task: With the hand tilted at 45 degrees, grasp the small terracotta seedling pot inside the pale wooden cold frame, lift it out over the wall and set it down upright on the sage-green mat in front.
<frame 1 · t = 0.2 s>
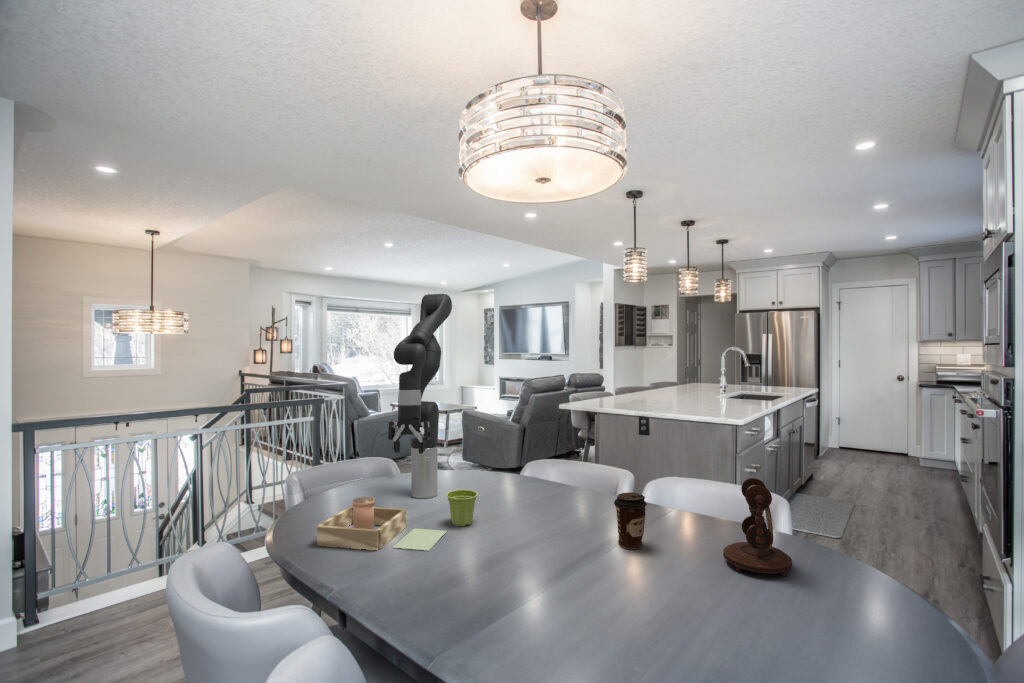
hand: (409, 453, 167), 18 cm above the table, tool pointing down, fingers open, 8 cm apart
green mat: (420, 539, 138), on the table
brown wooden stand: (757, 566, 121), on the table
seedling pot: (363, 517, 142), in the cold frame
plant pot: (462, 523, 152), on the table
coffee cup: (631, 546, 134), on the table
cold frame: (363, 535, 142), on the table
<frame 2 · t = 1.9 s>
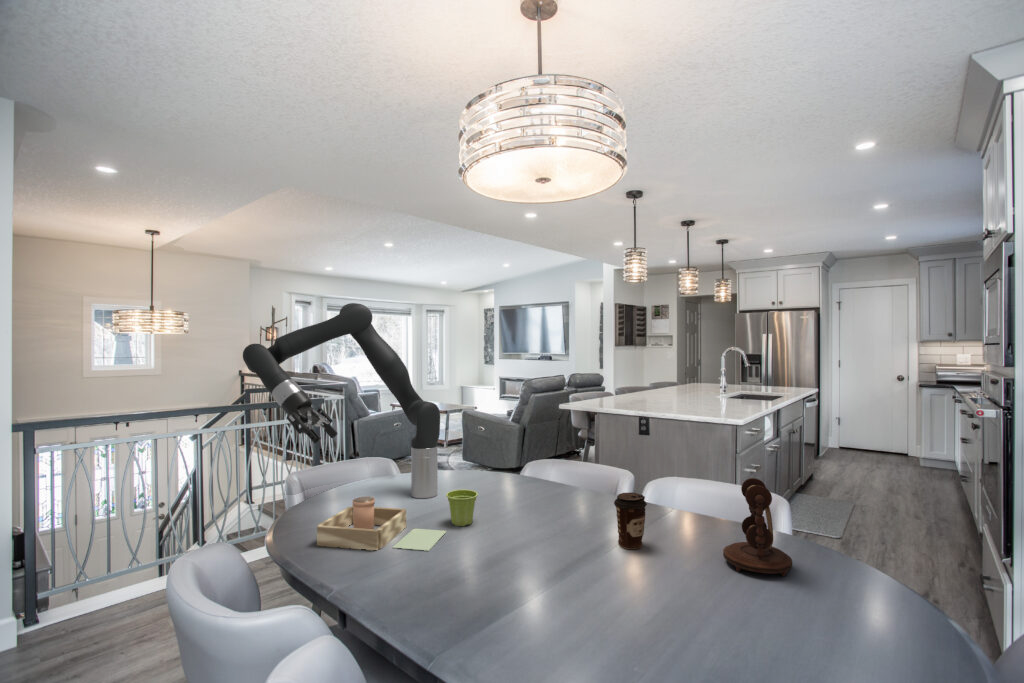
hand: (326, 438, 147), 26 cm above the table, tool tilted 45°, fingers open, 8 cm apart
nothing on the table moved.
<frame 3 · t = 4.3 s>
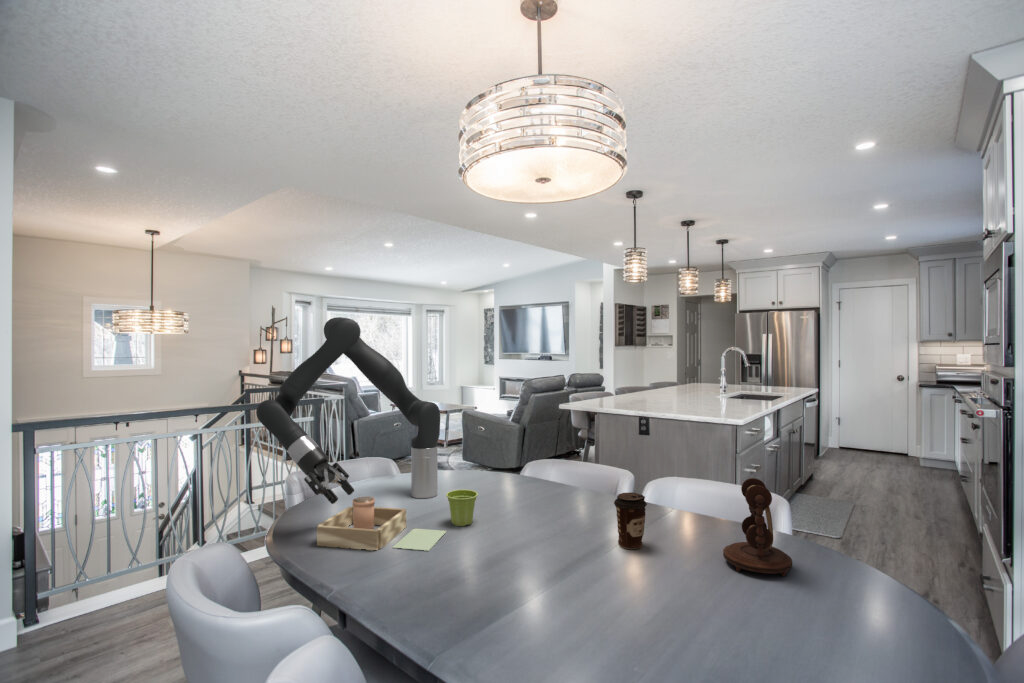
hand: (344, 497, 143), 10 cm above the table, tool tilted 45°, fingers open, 8 cm apart
nothing on the table moved.
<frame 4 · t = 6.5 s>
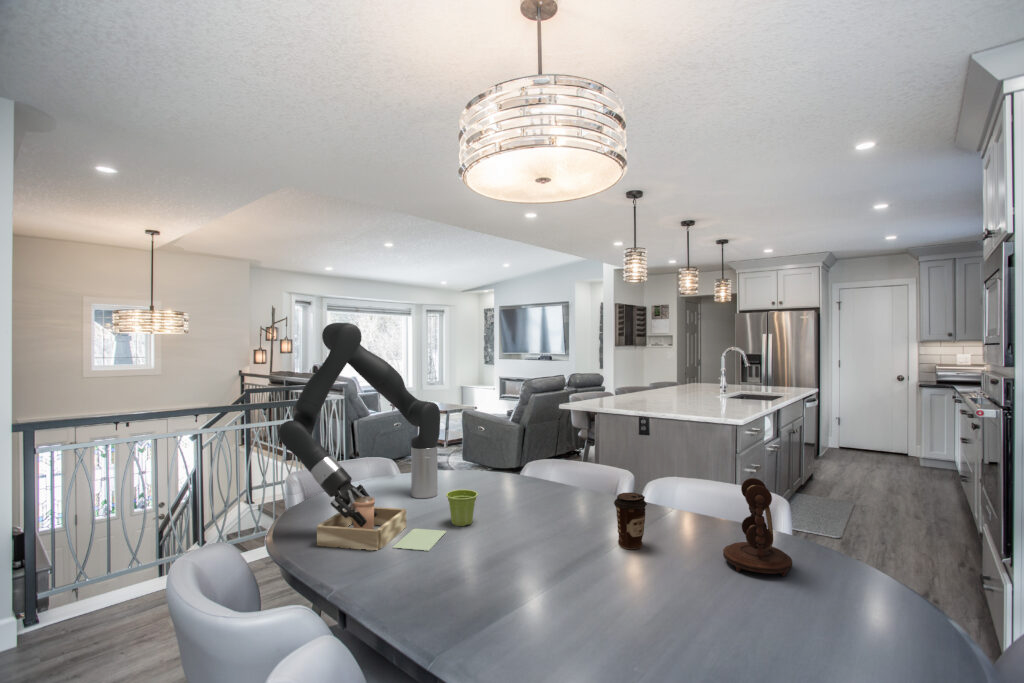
hand: (369, 520, 142), 4 cm above the table, tool tilted 45°, fingers closed on seedling pot, 5 cm apart
seedling pot: (363, 517, 142), in the cold frame, touching gripper
everything else where it was.
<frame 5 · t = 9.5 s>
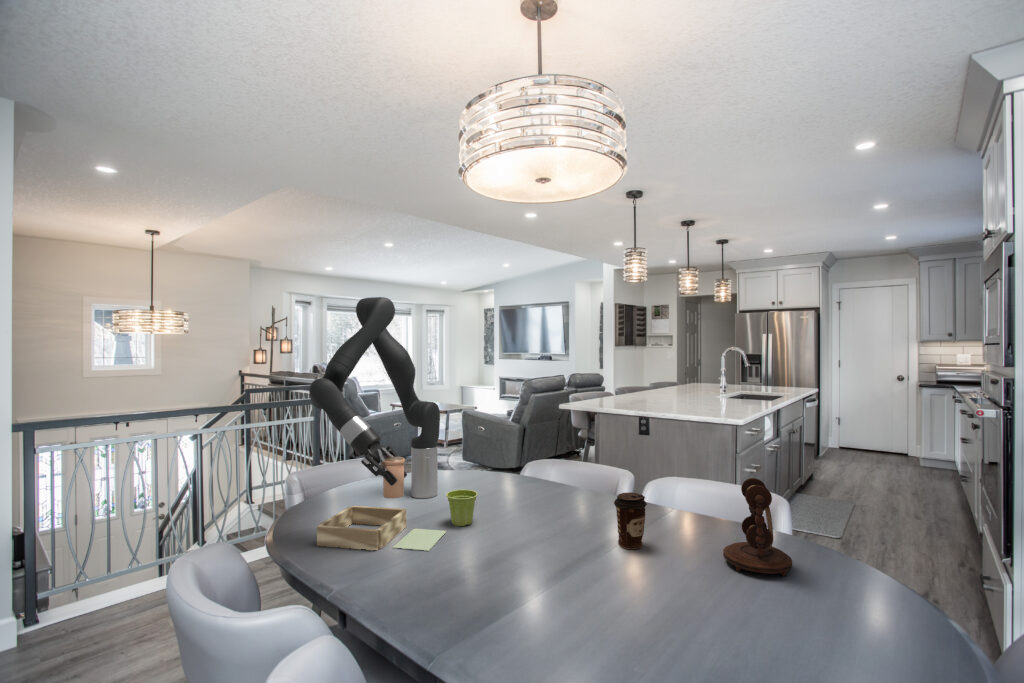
hand: (399, 480, 140), 16 cm above the table, tool tilted 45°, fingers closed on seedling pot, 5 cm apart
seedling pot: (393, 477, 140), point 17 cm above the table, touching gripper
everything else where it was.
when the fingers open (6 cm above the table, at t = 12.8 s): seedling pot drops 1 cm, resting on green mat.
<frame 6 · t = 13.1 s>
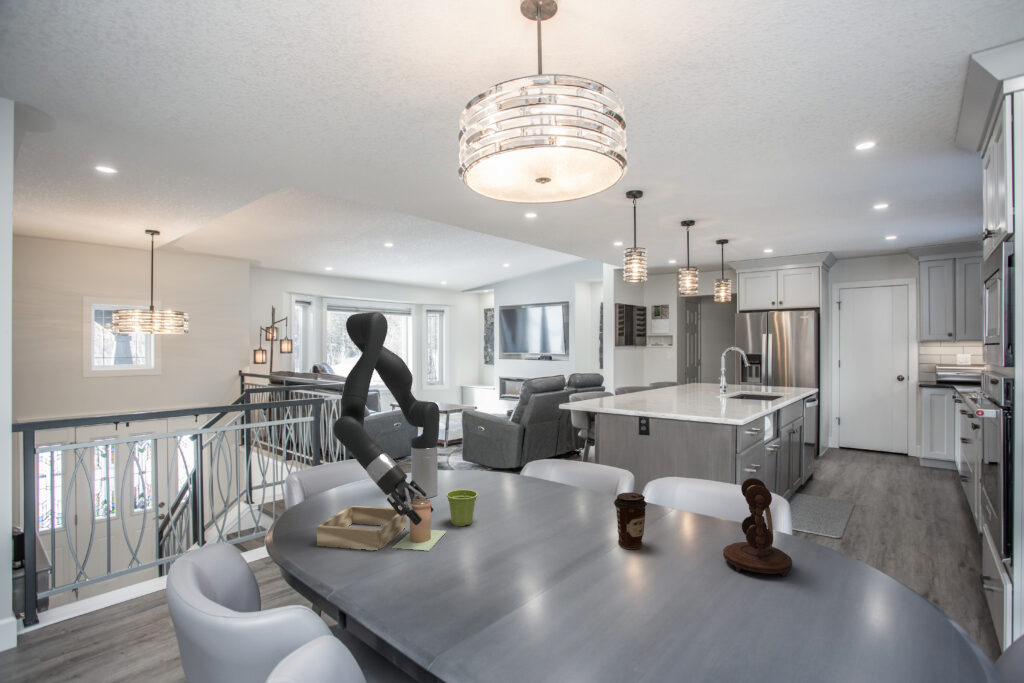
hand: (425, 517, 138), 6 cm above the table, tool tilted 45°, fingers open, 8 cm apart
seedling pot: (420, 520, 139), resting on green mat
everything else where it was.
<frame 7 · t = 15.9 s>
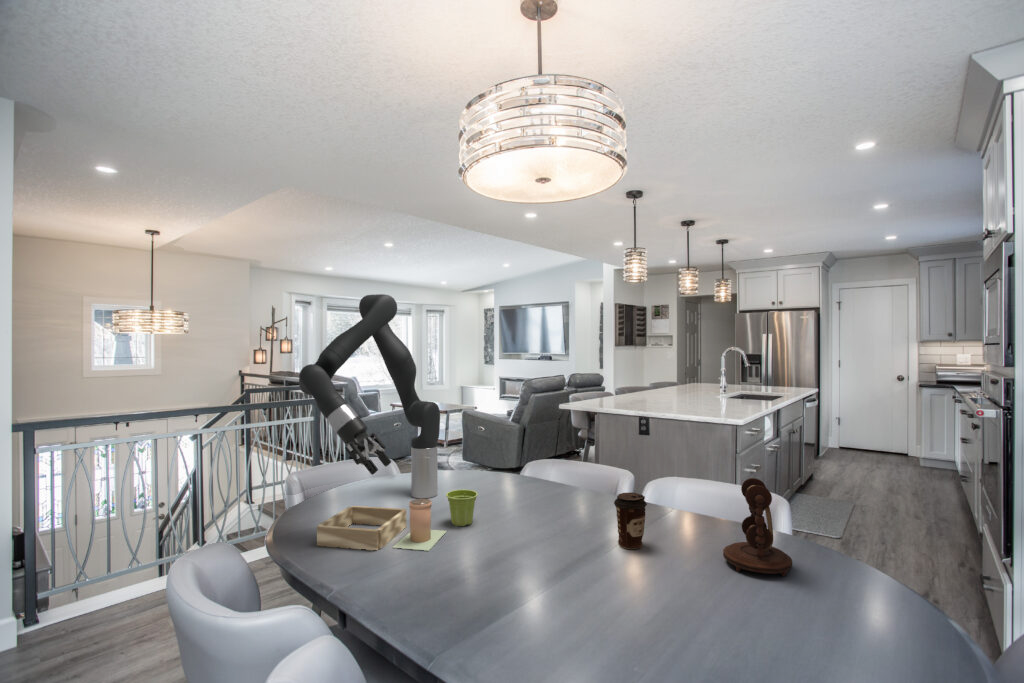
hand: (382, 468, 143), 19 cm above the table, tool tilted 40°, fingers open, 8 cm apart
nothing on the table moved.
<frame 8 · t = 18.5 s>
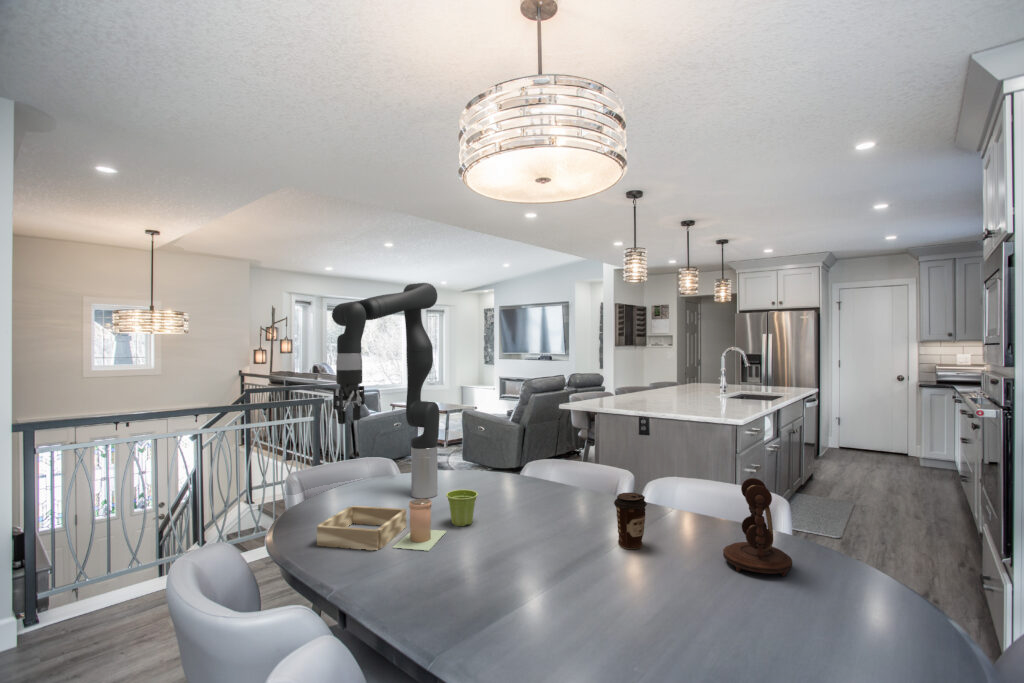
hand: (349, 421, 154), 30 cm above the table, tool pointing down, fingers open, 8 cm apart
nothing on the table moved.
at the end: seedling pot inside the target area (0.6 cm from its centre), resting on green mat; seedling pot tilted 0°; the gripper is holding nothing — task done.
